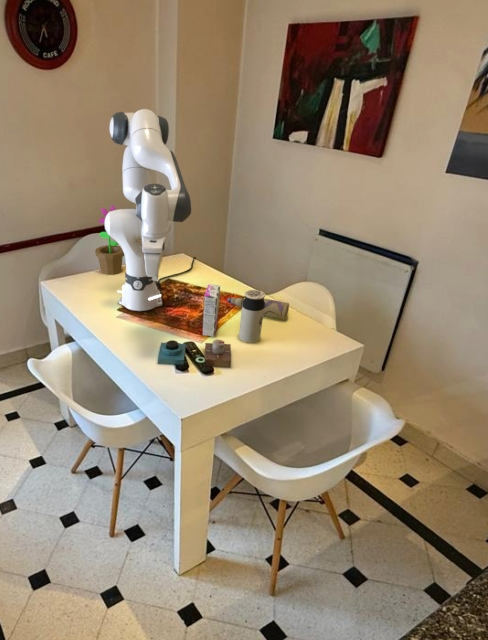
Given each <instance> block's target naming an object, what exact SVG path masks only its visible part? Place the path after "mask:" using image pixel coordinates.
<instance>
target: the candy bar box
mask: <svg viewBox="0 0 488 640" xmlns="http://www.w3.org/2000/svg"><path fill="white" fill-rule="evenodd" d="M220 295H221V285H219V284H207V286H206V290H205V293H204V296H203V312H202V313H203V314H202V315H203V316H202V331H201V332H202V333H201V334H202V336H203V337H211V338H215V336H216V331H217V328H218V325H219V311H220V310H219V308H220Z"/></svg>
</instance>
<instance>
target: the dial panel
mask: <svg viewBox="0 0 488 640" xmlns="http://www.w3.org/2000/svg"><path fill="white" fill-rule="evenodd" d="M231 346H232V345H231V343H224V352H223V353H222V354H215V353H213V352H212V348H213V342H205V344H204V360H205V361H203V366H204V367H207V368H208V367H211V368H228V369H230V368H231V366H232V347H231ZM204 362H206V363H209V364H204Z"/></svg>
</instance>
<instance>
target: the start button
mask: <svg viewBox="0 0 488 640" xmlns="http://www.w3.org/2000/svg"><path fill="white" fill-rule="evenodd" d="M166 342H167V349H169V350H175V349H178V343H179V342H178V341H177V340H173V339H172V340H168V341H166Z"/></svg>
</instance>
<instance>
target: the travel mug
mask: <svg viewBox="0 0 488 640" xmlns="http://www.w3.org/2000/svg"><path fill="white" fill-rule="evenodd" d="M243 295H244V298H243V299H244V300H243V304H242V308H241V313H240V322H239V329H238V330H239V331H238V339H239V340H240V341H242V342H245V343H249V344H251V343H252V344H253V343H257V342H259V341H260V340H261V335H262V334H261V333H262V328H263V327H262V326H263V320H264V315H263V314H264V307H265V301H264V299H265V298H266V293H265V292H264V291H262V290H260V289H248V290H245V292H244V293H243Z"/></svg>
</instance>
